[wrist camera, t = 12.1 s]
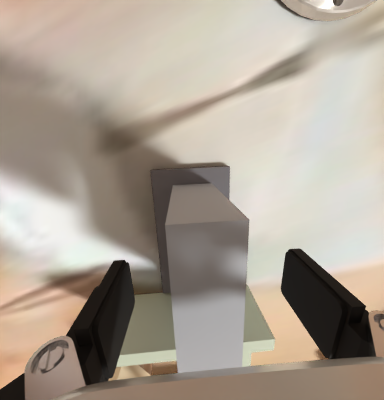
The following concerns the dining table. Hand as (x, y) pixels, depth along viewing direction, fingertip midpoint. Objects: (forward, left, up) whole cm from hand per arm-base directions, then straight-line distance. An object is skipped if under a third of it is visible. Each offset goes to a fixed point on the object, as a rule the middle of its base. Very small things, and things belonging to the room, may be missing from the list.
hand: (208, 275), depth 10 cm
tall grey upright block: (+1, 0, -7) cm, 7 cm away
